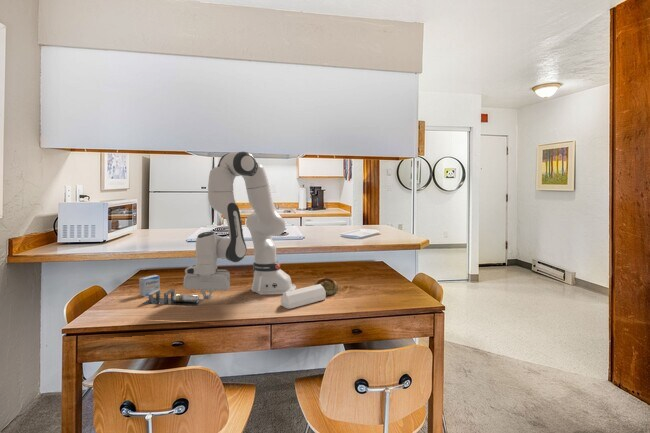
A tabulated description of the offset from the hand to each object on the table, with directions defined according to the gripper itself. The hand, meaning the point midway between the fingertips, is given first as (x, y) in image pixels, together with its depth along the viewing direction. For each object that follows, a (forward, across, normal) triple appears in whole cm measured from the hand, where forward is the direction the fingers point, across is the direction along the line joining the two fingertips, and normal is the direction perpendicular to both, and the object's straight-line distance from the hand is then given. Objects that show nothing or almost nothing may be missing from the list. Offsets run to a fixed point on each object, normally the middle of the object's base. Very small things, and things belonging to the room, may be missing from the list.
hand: (207, 299), depth 160 cm
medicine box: (+2, +32, -10) cm, 34 cm away
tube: (+2, +10, 0) cm, 10 cm away
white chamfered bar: (+2, -42, -6) cm, 43 cm away
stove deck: (+2, +16, 0) cm, 16 cm away
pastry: (+2, -52, -23) cm, 57 cm away
